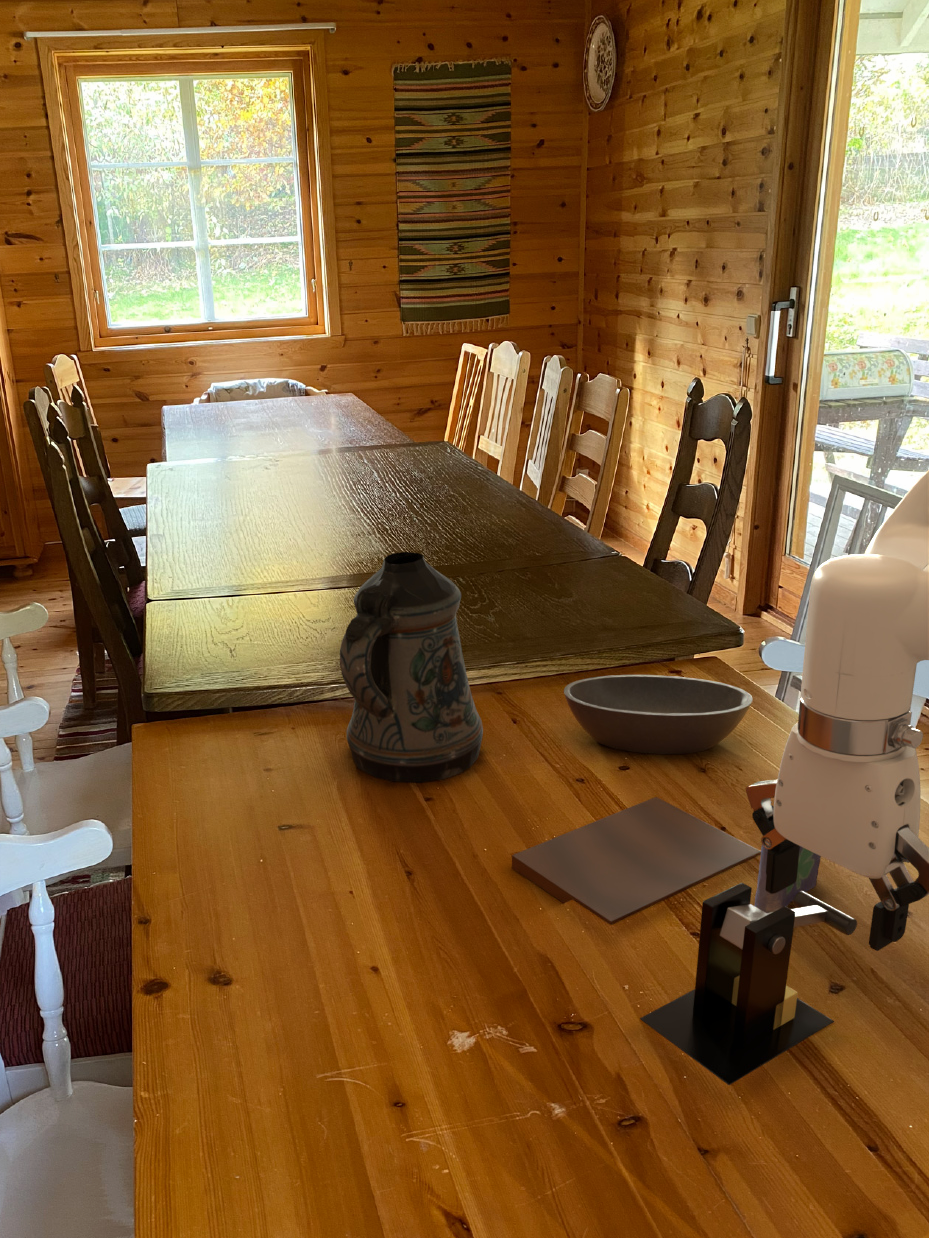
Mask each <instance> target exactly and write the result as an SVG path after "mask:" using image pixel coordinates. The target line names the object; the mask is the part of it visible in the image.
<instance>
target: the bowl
mask: <svg viewBox="0 0 929 1238" xmlns="http://www.w3.org/2000/svg"><path fill="white" fill-rule="evenodd" d="M563 694H564V697H565V700H566V702H567V705H568V708H569V709H570V711H571V713H572V715H573V716H574V718H575V720H576V721H577V722H578V723H579V726H581V728H582V729H583V730H584V731H585V732H586V733H587V734H588V735H589V736H590V737H591V738H592V739H593V740H594V741H596V742H597V743H598V744H600V745H603V746H605V747H608V748H611V749H616V750H619V751H626V752H631V753H640V754H653V755H683V754H695V753H700V752H704V751H708V750H710V749H711V748H713V747H715V746H716V745H717V744H719V743H721V742H722V741H723V740H725V739H726V738H727V737H728V736H729V735H730V734H731V733H732V732H733V731H734V730H735V729H736V728H737V726H738V725H739V724H740V723H741V722H742V720H743V719H744V717H745V716H746V715H747V713H748V711H749V709H750V707H751V705H752V703H753V697H752V695H751V694H750V693H749V692H747V691H746V690H744V689H742V688H740V687H738V686H735V685H732V684H728V683H723V682H719V681H714V680H708V679H704V678H703V679H702V678H695V677H685V676H684V677H683V676H676V675H675V676H674V675H673V676H672V675H659V674H657V675H656V674H620V675H602V676H594V677H593V676H592V677H588V678H583V679H579V680H576V681H572V682H570V683H569V684H567V685H566V686H565V687H564V689H563Z"/></svg>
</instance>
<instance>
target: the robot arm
mask: <svg viewBox="0 0 929 1238" xmlns="http://www.w3.org/2000/svg"><path fill="white" fill-rule="evenodd" d="M809 588H810V589H809V598H808V609H807V620H806V631H805V643H804V653H803V663H802V675H801V687H800V696H799V697H800V698H799V707H798V718H797V722H796V723H795V724H793V726H792V727H791V730H790V732H789V735H788V736H787V739H786V742H785V745H784V749H783V753H782V755H781V760H780V764H779V769H778V774H777V779H767V780H759V781H756V782H754V783H752V784H749V785H747V786H746V788H745V792H746V796H747V799H748V803H749V805H750V808H751V809H752V811H753V812H752V813H751V814H752V815H751V817H752V820H753V821H754V823H755V825H756V826H757V828H758V831H760V833H761V835H762V836H761V838H760V843H761V846H762V845H763V846H764V847H765V848H766V849H768V852H767V864H766V875H767V876H766V888H765V890H766V891H767V892H769V893H771V894H773V893H774V894H775V893H777V892H779V891H781V890H783V889H785V888H786V887H788V886H790V885H792V884H794V883H795V882H796V880H797V872H798V861H799V851H800V846H801V847H803V848H805V849H807V850H809V851H811V852H813V853H815V854H817V855H819V856H821V858H823V859H825V860H828V861H830V862H832V863H834V864H836V865H837V866H840V867H842V868H844V869H846V870H849V871H851V872H852V873H855V874H856V875H859V876H862V877H865V878H868V880H869V881H870V884H871V885H872V887H873V889H874V891H875V893H876V895H877V897H878V899H879V900H880V901H879V902H878V903H876V904H874V906H873V907H872V915H871V922H870V923H871V924H870V930H869V937H868V938H869V939H868V945H869V948H870V949H872V950H875V951H877V952H878V951H880V950H883V948H885V947H887V946H889V945H890V944H892V943H896V942H898V941H900V940H901V939H902V938H903V936H904V935H905V933H906V928H907V921H908V914H909V907H910V904H913V903H916V902H918V901H921V900H922V899H924V898H926V897H927V896H929V846H927V845H926V843H925V842H924V841H922V840H921V838H920V837H919V836H920V835H919V834H920V823H921V793H922V791H921V773H920V764H919V759H918V754H917V753H918V752H917V748H918V747H920V745H921V744H922V742H923V739H924V733H923V731H922V730H919V729H916V728H915V727H914V726H913V725H911V721H912V715H913V712H912V711H911V708H912V703H913V696H914V695H913V694H914V687H915V681H916V672H917V665H918V663H920V662H923V661H929V469H928V470H927V471H926V472H925V473H923V475H921V476H920V477H919V479H918V480H917V481H915V483H914V484H913V485H912V486H911V488H910V489H909V490H908V491H907V492H906V493H905V495H904V496H903V497H902V499H901V500H900V501H899V502H898V504H897V505H896V506H895V507H894V509H893V510H892V511H891V512H890V514H889V515H888V516H887V517H886V519H885V520H884V521H883V522H882V524H881V525H880V526H879V528H878V529H877V531H876V532H875V534H874V535H873V537H872V539H871V540H870V542H869V544H868V545H867V547H866V549H865V551H864V552H863V553H861V554H860V553H859V554H858V553H857V554H848V555H847V554H846V555H842V556H837V557H834V558H833V557H832V558H830V559H828V560H827V561H824V562H823V563H822V564H820V565H819V566H818V567H817V568H816V570H815V572H814V573H813V576H812V578H811V582H810V587H809ZM772 799H773V802H772ZM905 863H907V864H909V863H910V864H911V865H912V866H913V868H915V870H916V871H917V874H918V876H917V878H915V880H913V878H912V876H911V874H910V872H909V870H908V869H907V867H906V865H905ZM888 874H889V875H890V877H891V879H892V880H893V883H894V884H895V886H896V887H895V888H894V887H893V885H892V882H891V881H890V879H889V877H888Z"/></svg>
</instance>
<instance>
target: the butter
mask: <svg viewBox="0 0 929 1238" xmlns="http://www.w3.org/2000/svg"><path fill="white" fill-rule="evenodd" d="M739 977H740V975H739V976H738V977H736V978H734V986H733V996H732V1004H734V1005H735V1006H736V1004H737V995H738V986H739ZM798 994H799V993H798V991H796V990H795V989H794V988H791V987H790V986H788V985H787V984H786V991H785V998H784V1001H783V1002H782V1003H780V1005H781V1004H782V1005H783V1004H784V1005H783V1006H782V1005H781V1009H782V1008H783V1009H782V1010H781V1011H780V1012H779V1010H780V1009H778V1012H777V1009H776V1013H775V1014H776V1015H777V1014H780V1013H781V1014H782V1015H780V1017H779V1016H778V1015H777V1018H776V1015H775V1018H776V1019H775V1021H774V1025H775V1026H774V1029H776V1028H778V1027H776V1024H778V1023H780V1024H779V1025H783V1024H785V1023H786V1022H788V1021H790V1020H792V1019H793V1018H794V1017H795V1009H796V1002H797V998H798ZM780 1005H779V1004H778V1008H780ZM782 1011H783V1012H782ZM781 1016H782V1017H781ZM779 1018H782V1020H780V1019H779ZM776 1022H777V1023H776ZM774 1029H773V1030H774Z"/></svg>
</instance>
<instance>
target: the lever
mask: <svg viewBox="0 0 929 1238" xmlns="http://www.w3.org/2000/svg"><path fill="white" fill-rule="evenodd" d="M792 904H793V906H794V907H795V908H790V909H791V910H793V911H795V912H796V913H795V921H794V928H799V927H804V926H811V925H816V924H821V923H824V924H826V925H828V926H829V927H832V929H834V930H836V931H838V932H840V933H841V934H844V935H845V936H851V935H852V934H854V932H855V931H856V929H857V926H858V921H857V919H856V918H854V917H852V916H850V915H849V914H847V913H844V912H843V911H841V910H839V909H838V908H835V907H834V906H832V905H829V904H828V903H826V902H824V901H822V900H820V899H819V898H817V897H815V896H813V895H811V894H810V893H808V892H807V891H806V892H804V891H800V892H798V893H797V894H796V896H795V898H794V900H793V901H792ZM768 914H770V913H765V912H764V911H762V910H760V909H758V908H757V907H755V905H753V904H752V903H750V904H748V905H742V906H735V907H729V908H727V912H726V915H725V919H724V922H723V925H722V929H721V932H720V936H721V937H723V938H724V939H726V940H728V941H729V942H731V943H732V944H734V945H736V946H737V947H739V948H741V949H743V940H744V931H745V926H747V925H749V924H751V923H753V922H754V921H756V920H758V919H760V918H762V917H764V916H766V915H768Z"/></svg>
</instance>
